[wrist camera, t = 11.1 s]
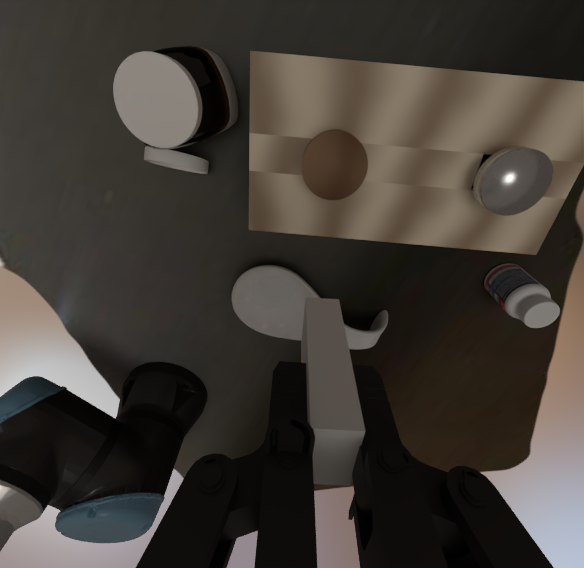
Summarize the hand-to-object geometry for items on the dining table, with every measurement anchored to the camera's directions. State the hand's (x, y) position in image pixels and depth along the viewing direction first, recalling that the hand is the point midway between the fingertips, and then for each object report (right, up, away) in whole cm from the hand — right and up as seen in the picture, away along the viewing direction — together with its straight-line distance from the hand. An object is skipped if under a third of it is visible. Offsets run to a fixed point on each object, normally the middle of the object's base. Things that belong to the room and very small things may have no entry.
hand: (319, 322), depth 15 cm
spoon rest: (+2, 0, +35) cm, 35 cm away
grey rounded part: (+16, +16, +21) cm, 31 cm away
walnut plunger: (+2, +18, +21) cm, 27 cm away
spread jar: (-12, +21, +22) cm, 33 cm away
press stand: (+10, +18, +23) cm, 30 cm away
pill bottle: (+29, +3, +31) cm, 43 cm away
